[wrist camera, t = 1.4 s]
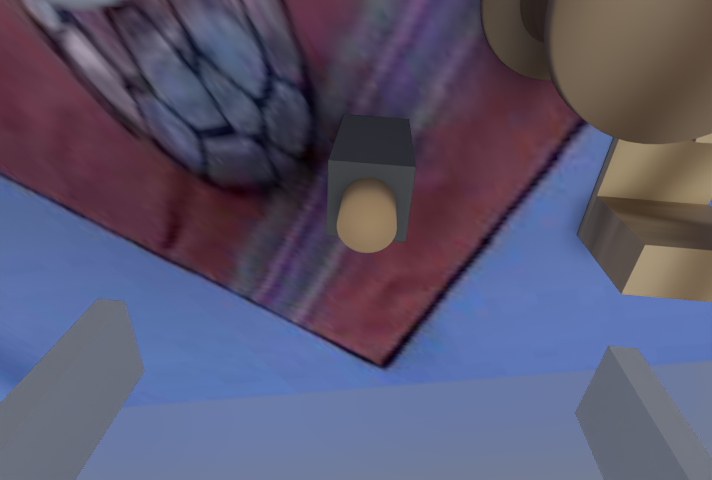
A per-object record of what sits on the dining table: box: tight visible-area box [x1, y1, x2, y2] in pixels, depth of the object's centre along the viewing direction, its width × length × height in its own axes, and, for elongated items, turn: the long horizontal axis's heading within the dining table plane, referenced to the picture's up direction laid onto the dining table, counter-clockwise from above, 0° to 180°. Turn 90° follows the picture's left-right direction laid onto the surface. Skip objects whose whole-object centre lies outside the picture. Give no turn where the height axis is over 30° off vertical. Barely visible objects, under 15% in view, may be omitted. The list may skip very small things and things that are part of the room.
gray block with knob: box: [326, 114, 416, 253], centre depth 23 cm, size 4×4×10 cm
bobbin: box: [481, 0, 712, 144], centre depth 17 cm, size 8×8×12 cm
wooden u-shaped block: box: [577, 134, 712, 302], centre depth 24 cm, size 7×12×7 cm, turn 177°
